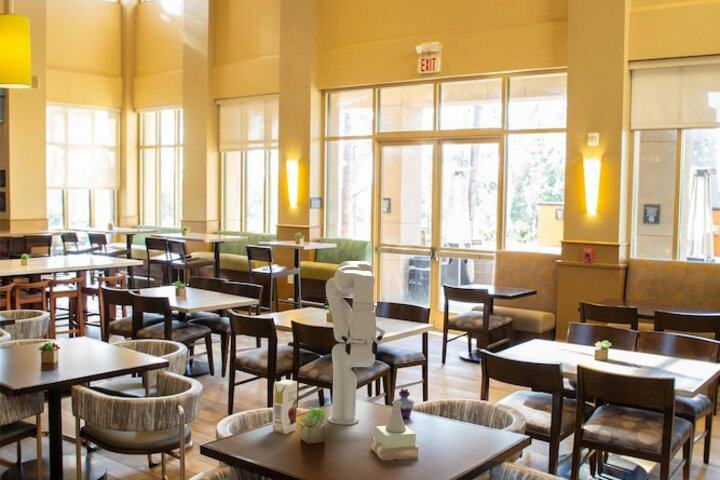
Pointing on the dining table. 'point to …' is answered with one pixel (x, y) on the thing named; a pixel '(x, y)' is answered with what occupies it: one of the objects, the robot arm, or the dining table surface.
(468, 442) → the dining table surface
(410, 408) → the potion bottle
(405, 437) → the sage top block
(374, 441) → the birch base block
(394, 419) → the flask
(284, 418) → the juice carton
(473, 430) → the dining table surface
